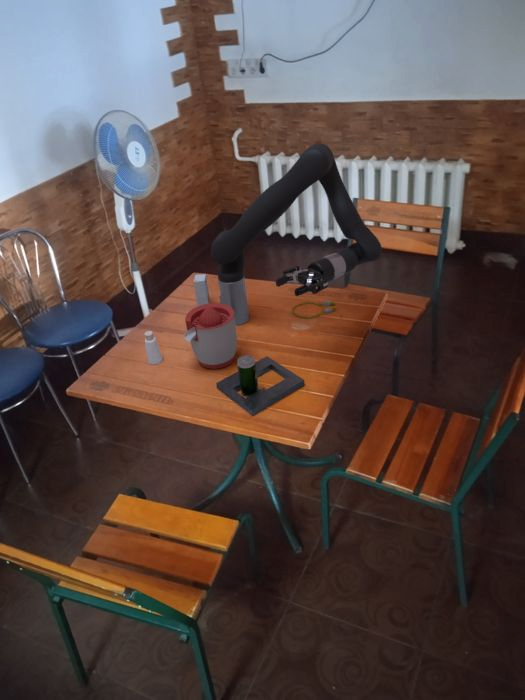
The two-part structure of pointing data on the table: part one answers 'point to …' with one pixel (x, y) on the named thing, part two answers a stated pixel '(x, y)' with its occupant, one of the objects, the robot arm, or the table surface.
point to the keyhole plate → (262, 396)
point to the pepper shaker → (152, 349)
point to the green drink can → (247, 375)
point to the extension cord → (319, 305)
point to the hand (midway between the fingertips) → (285, 288)
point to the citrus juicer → (212, 334)
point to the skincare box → (201, 289)
